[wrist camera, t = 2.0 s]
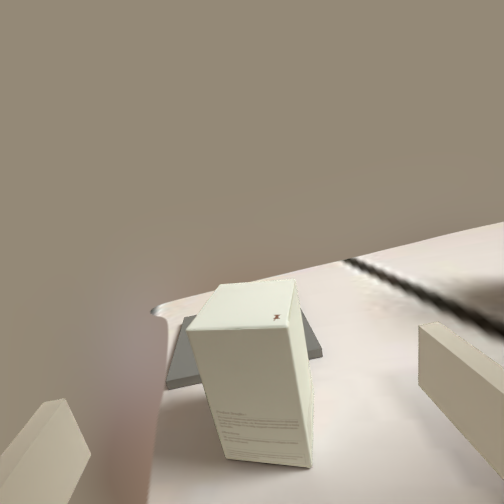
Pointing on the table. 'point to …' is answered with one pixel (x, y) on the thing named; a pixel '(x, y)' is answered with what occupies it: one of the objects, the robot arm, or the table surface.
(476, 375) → the robot arm
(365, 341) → the table surface
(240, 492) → the table surface
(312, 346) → the charging pad
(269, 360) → the supplement box
